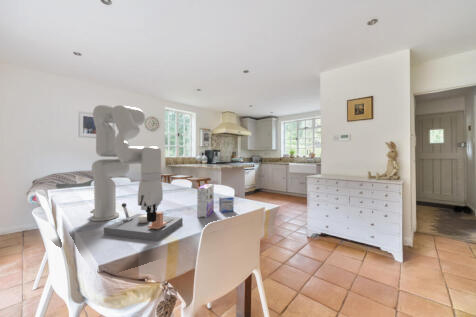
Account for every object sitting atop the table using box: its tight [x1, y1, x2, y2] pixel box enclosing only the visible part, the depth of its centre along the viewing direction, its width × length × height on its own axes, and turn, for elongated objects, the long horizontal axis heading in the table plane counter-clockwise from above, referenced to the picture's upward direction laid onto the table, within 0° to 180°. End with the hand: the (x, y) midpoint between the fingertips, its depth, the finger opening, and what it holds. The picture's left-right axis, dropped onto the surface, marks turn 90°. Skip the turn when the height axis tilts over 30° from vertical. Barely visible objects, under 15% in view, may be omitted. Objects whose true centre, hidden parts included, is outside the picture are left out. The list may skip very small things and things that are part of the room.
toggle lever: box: [121, 202, 130, 219], centre depth 93 cm, size 2×2×7 cm
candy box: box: [197, 183, 215, 219], centre depth 113 cm, size 14×6×16 cm, turn 172°
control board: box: [103, 213, 183, 242], centre depth 90 cm, size 26×20×4 cm
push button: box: [138, 214, 148, 223], centre depth 90 cm, size 5×5×2 cm
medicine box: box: [218, 195, 235, 214], centre depth 119 cm, size 8×4×9 cm, turn 114°
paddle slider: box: [148, 211, 167, 229], centre depth 84 cm, size 5×6×6 cm
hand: (151, 221), depth 80 cm, fingers closed
